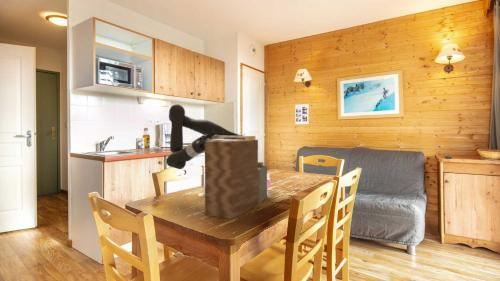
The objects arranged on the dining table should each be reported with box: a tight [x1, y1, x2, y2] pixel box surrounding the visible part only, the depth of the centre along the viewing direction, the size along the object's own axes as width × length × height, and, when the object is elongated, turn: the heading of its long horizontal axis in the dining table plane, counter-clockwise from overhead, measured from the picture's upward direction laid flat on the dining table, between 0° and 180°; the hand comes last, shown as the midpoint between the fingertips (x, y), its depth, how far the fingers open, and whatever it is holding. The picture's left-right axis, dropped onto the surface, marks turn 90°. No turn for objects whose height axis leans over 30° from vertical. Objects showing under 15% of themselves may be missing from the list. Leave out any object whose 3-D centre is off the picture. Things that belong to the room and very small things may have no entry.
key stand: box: [204, 137, 259, 220], centre depth 124 cm, size 14×24×33 cm, turn 153°
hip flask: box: [258, 161, 268, 205], centre depth 140 cm, size 16×4×20 cm, turn 162°
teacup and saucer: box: [198, 187, 205, 197], centre depth 152 cm, size 9×8×4 cm
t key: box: [212, 135, 256, 141], centre depth 130 cm, size 22×8×2 cm, turn 62°
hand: (219, 132), depth 133 cm, fingers open, 8 cm apart
